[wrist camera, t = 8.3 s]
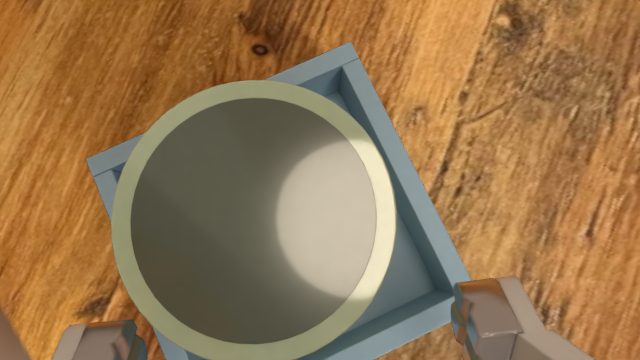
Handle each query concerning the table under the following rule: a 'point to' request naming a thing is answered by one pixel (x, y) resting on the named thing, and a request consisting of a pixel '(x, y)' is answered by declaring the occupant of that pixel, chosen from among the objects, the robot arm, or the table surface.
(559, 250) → the table surface
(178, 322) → the cup
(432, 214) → the open bin
